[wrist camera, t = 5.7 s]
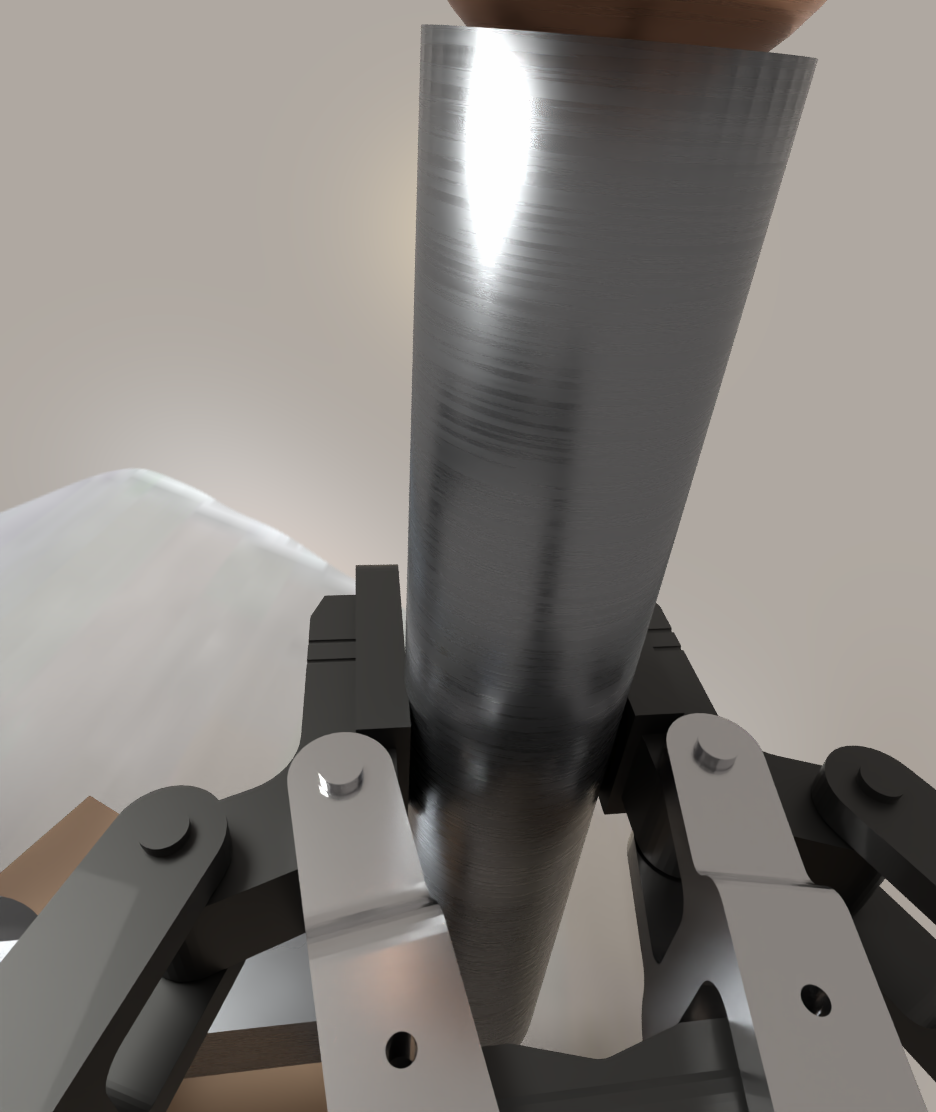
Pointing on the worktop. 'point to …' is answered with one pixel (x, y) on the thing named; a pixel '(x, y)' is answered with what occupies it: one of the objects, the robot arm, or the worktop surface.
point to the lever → (548, 440)
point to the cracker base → (200, 1103)
